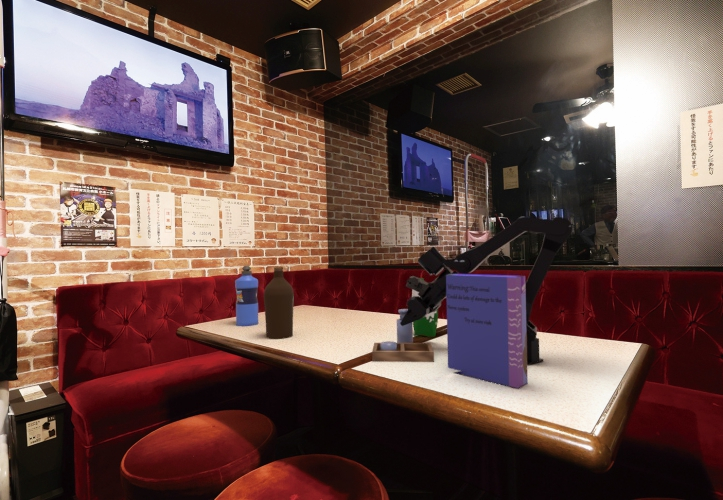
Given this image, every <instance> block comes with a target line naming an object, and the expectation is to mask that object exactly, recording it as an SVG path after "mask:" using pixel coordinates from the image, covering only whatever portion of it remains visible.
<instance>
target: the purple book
mask: <svg viewBox="0 0 723 500" xmlns="http://www.w3.org/2000/svg"><path fill="white" fill-rule="evenodd" d="M525 284H526V276H525V275H511V274H510V275H509V274H507V275H506V274H505V275H504V274H503V275H502V274H480V273H479V274H474V273H467V274H462V273H459V274H448V275H446V295H447V297H446V328H447V329H446V330H447V331H446V333H447V334H446V335H447V337H446V338H447V341H446V342H447V368H449V369H452V370H457V371H454V372H453V374H456V375H459V376H463V377H468V378H471V379H476V380H479V379H480V380H479V381H483V380H484V382H487V381H488V383H491V382H492V384H495V383H496V385H499V384H500V385H499V386H504V387H508V388H512V389H516V390H519V389H521V388H523V387H524V386H526V385H529V384H528V383H529V382H528V380H529V379H528V365H527V334H526V289H525Z"/></svg>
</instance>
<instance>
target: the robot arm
mask: <svg viewBox="0 0 723 500" xmlns="http://www.w3.org/2000/svg"><path fill="white" fill-rule="evenodd" d="M572 232H573V225H572V222H571V221H570V220H569V219H567V218H565V217H563V216H561V217H560V216H559V217H558V216H557V217H555V218H552V219H547V218H535V217H528V216H520V217H518V218H517V219H516V220H515V221H514V222H512V223H510V225H507V226H505V228H504V229H502V230H500V231H499V232H498V233H496V234H494V235H493V236H491V237H490V238H489V239H487V240H486V241H485V242H483V243H481V244H480V245H478V246H475V247H472V248H471V249H468V250H466V251H464V252H462V253H459V254H457V256H455V257H454V258H451V257H448V258H447V257H445V256H444V255H443V254H442V253H441V252H440V250H439V249H438V248H437V247H436V246H432V247H431V248H430V249H428V250H427V251H426V252H425V253H423V254H421V255H420V257H419V258H418V259H417V261H416V262H417V263H418V264H419V265H420V266H421V267H422V268H423V269H424V271H426V272H427V273H428V274H429V276H433V275H434V276H437V277H436V278H434V280H433V281H431V282H427V281H426V280H424V281H423V280H421V279H419V278H420V277H418V276H414V275H412V276H409V278H408V279H407V280H406V285H405V287H407V288H408V289H411V290H412V289H413V290H415V291H417V292H419V293H418V295H419V296H420V297H419V296H413V297H412V296H411V297H409V299H408V300H407V301H406V306H407V309H408V310H407V312H406V314H405V316H404V317H403V319H402V321H401V322H400V324H401V325H402V326H404V325H407V324H409V323H412V322H414V321H417V320H419V319H422V318H423V317H425V316H426V315H427V314H429V313H431V312H433V311H435V310H437V309H438V310H439V308H440V307H441V306H442V302H443V300H444V299H447V295H446V275H448V274H471V273H472V272H474V271H475V270H476V269H478V268H479V266H480V265H482V264H483V263H484V262H485V261H486V260H487V259H488V258H489V256H491V255H493V254H494V253H496V252H498V250H500V249H501V248H503V247H504V246H506V245H507V244H510V242H512V241H514V240H516V238H518V237H519V236H521V235H523V234H524V233H531V234H538V235H539V234H540V235H544V237H543V240H542V241H543V242H542V245H541V248H540V251H539V252H538V256H537V258H536V259H535V262H534V264H533V267H532V268H531V271H530V273H529V275H528V277H527V279H526V281H525V289H526V334H527V366H528V365H529V366H530V365H533V364H536V363H541V362H544V359H543V358H541V357H540V338H538V337H537V335H538V334H537V333H538V329H537V326H536V325H534V324H533V322H532V321H531V320H530V318H531V313H532V310H533V305H534V301H535V300H536V297H537V296H538V293H539V291H540V289H541V287H542V284H543V282H544V281H545V278H546V277H547V274H548V271H549V269H550V267H551V265H552V263H553V261H554V259H555V256H556V255H557V254H558V252H559V251H560V250H561V248H562V247H563V246H564V244H565V243H566V241H568V239H569V237H570V236H571V234H572ZM452 269H455V270H454V271H453V270H452Z"/></svg>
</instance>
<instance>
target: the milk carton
mask: <svg viewBox="0 0 723 500" xmlns="http://www.w3.org/2000/svg"><path fill="white" fill-rule="evenodd" d="M418 278H419V279H421V280H423V281H425V280H424V279H425V278H423V277H418ZM411 290H412V291H411V297H413V296H419V295H418V293H419V292H417V291H415V290H413V289H411ZM419 297H420V296H419ZM438 320H439V308H438V309H437V310H435V311H433V312H431V313H429V314H427V315H426V316H425V317H423V318H422V319H419V320H417V321H414V322H413V336H415V335H425V336H427V337H428V338H431V337H432V338H436V336H437V335H436V334H437V329H438V322H439V321H438Z"/></svg>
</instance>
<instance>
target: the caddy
mask: <svg viewBox="0 0 723 500" xmlns="http://www.w3.org/2000/svg"><path fill="white" fill-rule="evenodd" d="M381 343H382V342H374V344H373V347H372V351H371V353H372V354H371V355H372V356H371V358H372V360H371V361H372V362H393V363H395V362H398V363H400V362H403V363H405V362H408V363H410V362H411V363H422V362H423V363H434V362H435V355H434V353H435V351H434V349H433V347H432V343H431V342H413V343H397V342H396V343H397V351H381Z"/></svg>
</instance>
